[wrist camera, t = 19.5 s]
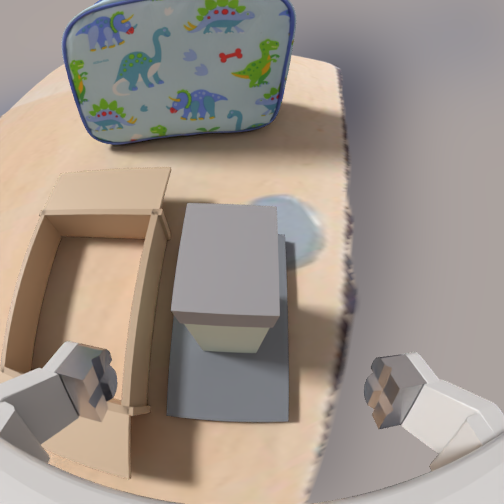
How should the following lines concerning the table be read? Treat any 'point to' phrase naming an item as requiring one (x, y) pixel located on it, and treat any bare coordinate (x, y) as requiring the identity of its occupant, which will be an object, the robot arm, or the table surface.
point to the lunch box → (178, 66)
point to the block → (228, 275)
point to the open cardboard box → (143, 306)
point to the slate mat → (232, 373)
